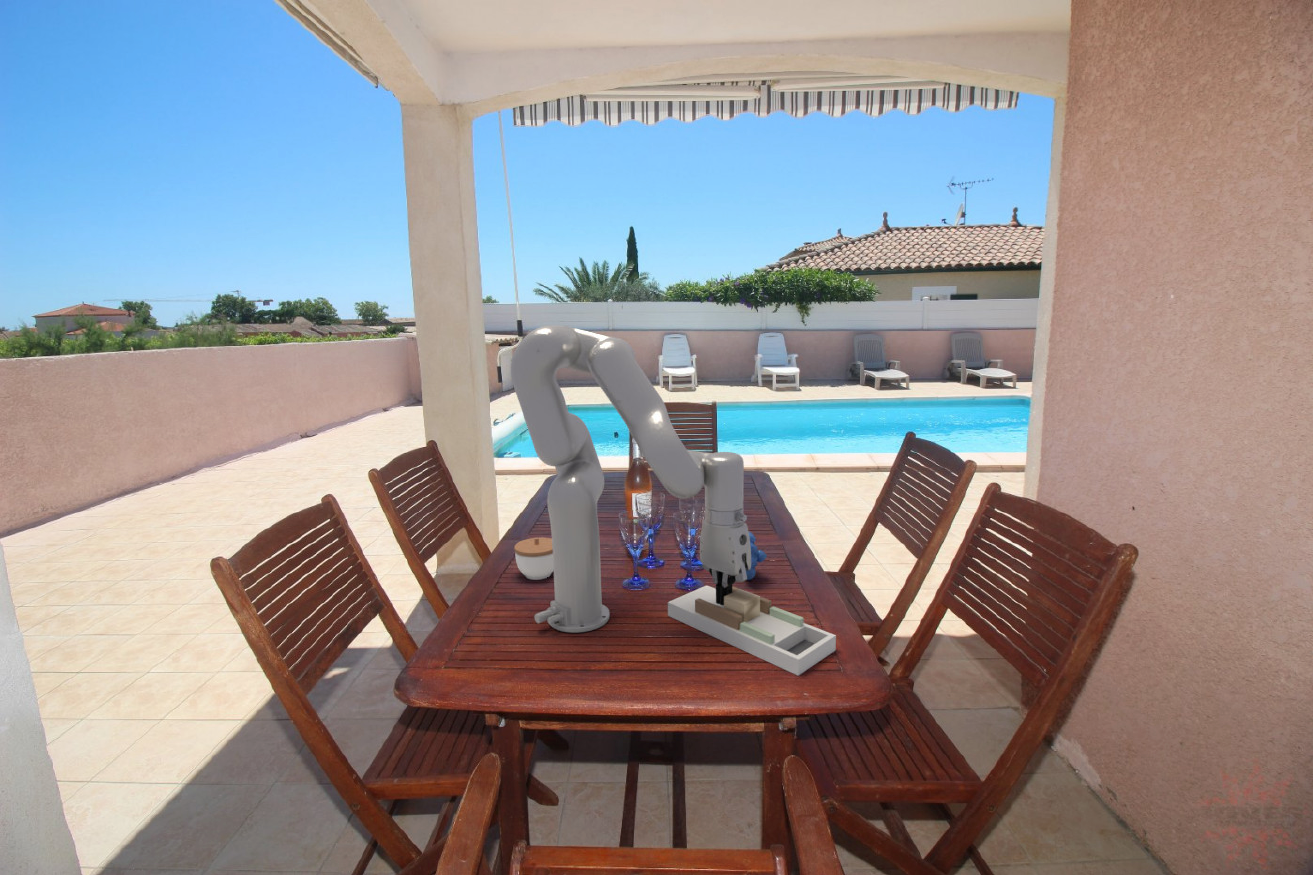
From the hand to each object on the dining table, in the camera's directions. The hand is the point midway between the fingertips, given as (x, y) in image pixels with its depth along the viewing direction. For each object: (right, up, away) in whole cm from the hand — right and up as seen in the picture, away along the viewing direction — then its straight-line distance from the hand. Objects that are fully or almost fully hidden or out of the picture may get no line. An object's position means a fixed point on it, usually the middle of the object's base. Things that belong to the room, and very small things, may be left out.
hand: (724, 602), depth 128 cm
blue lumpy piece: (+9, -1, +21) cm, 23 cm away
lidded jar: (-42, 0, +26) cm, 50 cm away
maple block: (+3, -2, -3) cm, 5 cm away
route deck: (+4, -5, -4) cm, 7 cm away
